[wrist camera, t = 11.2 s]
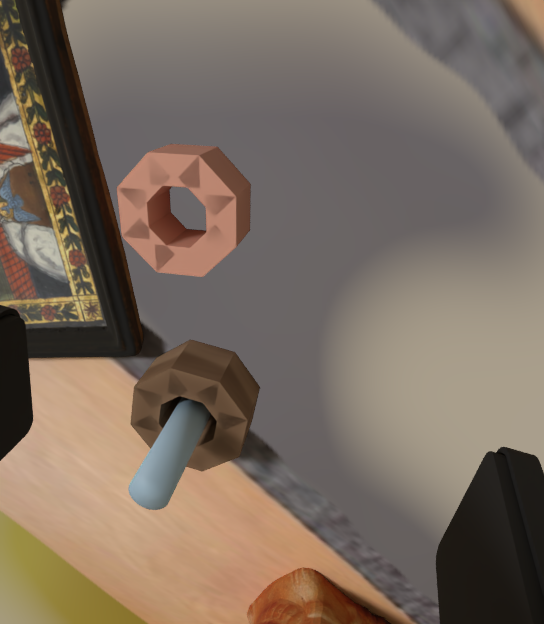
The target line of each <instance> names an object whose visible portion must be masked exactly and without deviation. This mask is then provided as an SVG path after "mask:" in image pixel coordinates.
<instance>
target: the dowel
mask: <svg viewBox="0 0 544 624" xmlns="http://www.w3.org/2000/svg"><path fill="white" fill-rule="evenodd" d="M210 416H211V413H210V412H209V410H208V409H207V408H206V406H205V405H204V404H203V403H201V402H198V401H195V400H191V399H188V398H184V397H182V398H181V400H180V401H179V403H178V405H177V406H176V408H175V410H174V411H173V413H172V415H171V416H170V418H169V420H168V421H167V423H166V424H165V426H164V428H163V429H162V431H161V433H160V434H159V436H158V438H157V439H156V441H155V443H154V444H153V446H152V448H151V449H150V451H149V453H148V454H147V456H146V458H145V459H144V461H143V463H142V464H141V466H140V468H139V469H138V471H137V473H136V474H135V476H134V478H133V479H132V481H131V483H130V485H129V493H130V496H131V497H132V499H133V500H134V501H135V502H136V503H137V504H139V505H140V506H142V507H144V508H147V509H151V510H158V509H162V508H164V507H165V506H166V505H167V504H168V502H169V500H170V498H171V496H172V494H173V492H174V490H175V488H176V486H177V484H178V482H179V480H180V478H181V476H182V474H183V471H184V469H185V467H186V465H187V463H188V461H189V459H190V457H191V455H192V453H193V451H194V449H195V447H196V445H197V443H198V441H199V438H200V436H201V434H202V432H203V430H204V428H205V426H206V424H207V422H208V420H209V418H210Z"/></svg>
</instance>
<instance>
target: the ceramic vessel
mask: <svg viewBox="0 0 544 624" xmlns="http://www.w3.org/2000/svg"><path fill="white" fill-rule="evenodd" d="M247 617H248V620H249V623H250V624H391V623H389V622H388V621H387V620H386V619H385V618H383V617H381V616H378V615H375V614H372V613H371V612H370V611H369V610H368V609H367V608H365V607H363V606H361V605H359V604H356V603H354V602H353V601H352V600H351V599H350V598H349V597H348V596H346V595H345V594H343V593H342V592H341V591H340V590H338V589H337V588H336V587H335V586H334V585H332V584H331V583H330V582H329V581H327V580H326V579H325V578H324V577H323V576H322V575H321V574H320V573H318V572H317V571H316V570H313V569H310V568H300V569H297V570H295V571H293V572H291V573H289V574H287V575H284V576H283V577H281V578H279V579H277V580H275V581H274V582H273V583H272V584H270V585H269V586H268V587H267V588H266V589H265V590H264V591H263V592H262V593H261V594H260V595H259V596H258V598H257V599H256V600H255V601H254V602H253V603H252V604H251V605H250V607H249V610H248V612H247Z"/></svg>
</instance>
